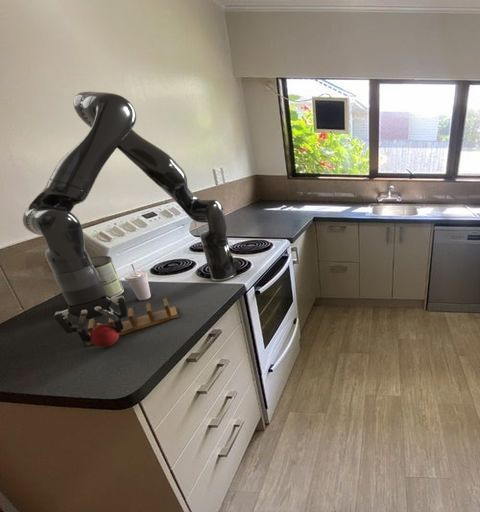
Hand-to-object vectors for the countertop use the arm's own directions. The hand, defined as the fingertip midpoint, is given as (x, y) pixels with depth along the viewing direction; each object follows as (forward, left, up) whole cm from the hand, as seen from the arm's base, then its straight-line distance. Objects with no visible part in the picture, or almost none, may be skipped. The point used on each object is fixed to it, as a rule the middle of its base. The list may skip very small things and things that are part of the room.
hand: (104, 335), depth 81 cm
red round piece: (0, 0, -4) cm, 4 cm away
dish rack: (-6, -8, -4) cm, 10 cm away
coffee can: (+2, -40, -4) cm, 40 cm away
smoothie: (-9, -28, -4) cm, 29 cm away
